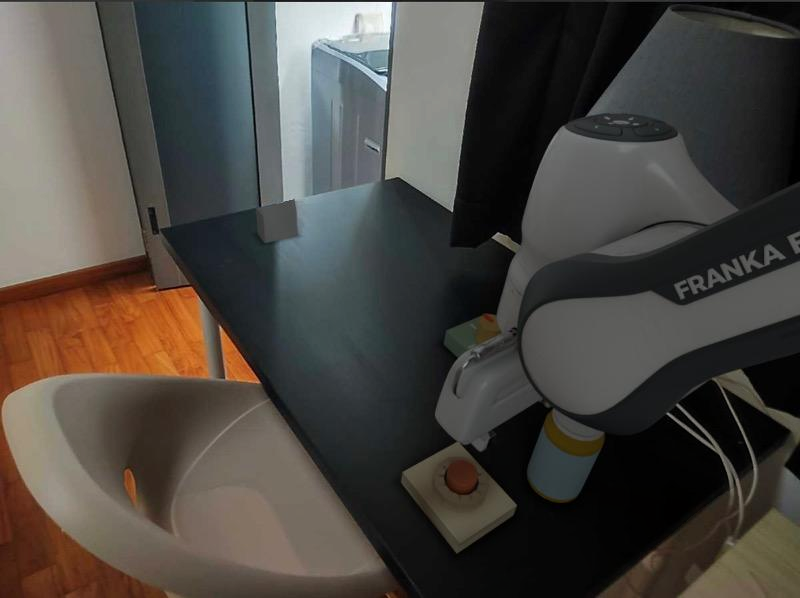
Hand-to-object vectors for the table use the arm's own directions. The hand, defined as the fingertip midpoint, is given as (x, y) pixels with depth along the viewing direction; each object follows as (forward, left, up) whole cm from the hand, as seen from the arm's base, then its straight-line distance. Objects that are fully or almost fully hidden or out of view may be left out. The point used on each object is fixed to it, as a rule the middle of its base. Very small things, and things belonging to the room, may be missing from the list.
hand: (515, 421), depth 55 cm
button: (+5, -1, -17) cm, 17 cm away
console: (+23, -22, -20) cm, 38 cm away
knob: (+23, -22, -17) cm, 36 cm away
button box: (+5, -1, -20) cm, 21 cm away
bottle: (0, -13, -20) cm, 24 cm away
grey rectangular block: (+70, -9, -20) cm, 73 cm away
